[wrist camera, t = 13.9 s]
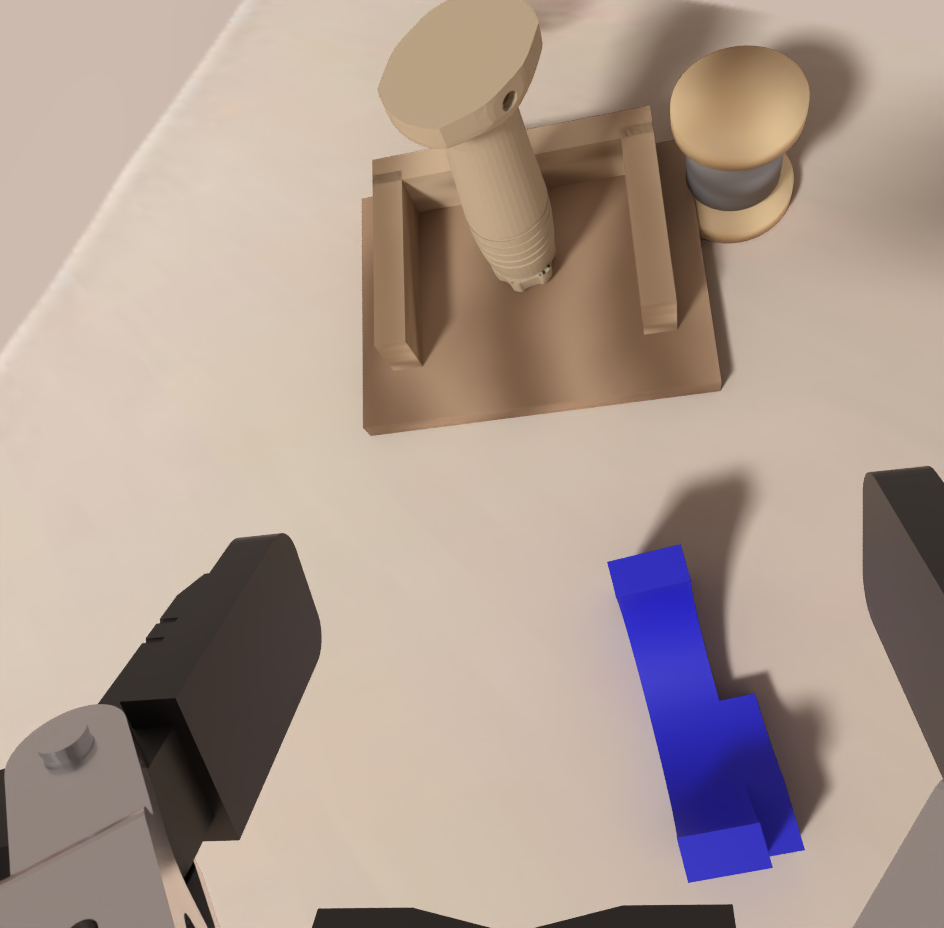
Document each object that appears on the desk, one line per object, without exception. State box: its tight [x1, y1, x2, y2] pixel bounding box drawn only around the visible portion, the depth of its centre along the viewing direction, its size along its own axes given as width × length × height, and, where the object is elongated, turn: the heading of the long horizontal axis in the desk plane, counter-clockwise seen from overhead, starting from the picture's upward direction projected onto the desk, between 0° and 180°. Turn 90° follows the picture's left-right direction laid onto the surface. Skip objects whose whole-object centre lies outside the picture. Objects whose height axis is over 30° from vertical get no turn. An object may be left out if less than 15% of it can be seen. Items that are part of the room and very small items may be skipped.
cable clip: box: [607, 544, 805, 883], centre depth 35 cm, size 12×4×6 cm, turn 11°
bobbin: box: [670, 46, 810, 243], centre depth 42 cm, size 6×6×7 cm
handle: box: [378, 0, 556, 292], centre depth 38 cm, size 5×6×15 cm
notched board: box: [362, 105, 721, 436], centre depth 44 cm, size 18×14×4 cm
